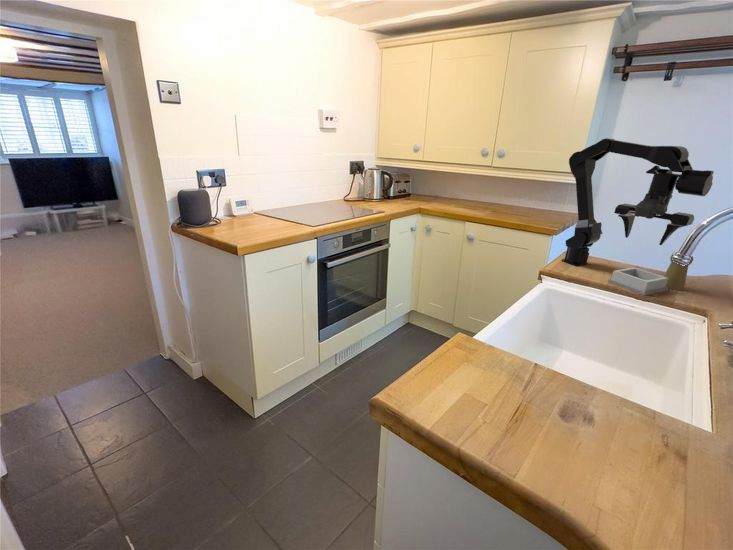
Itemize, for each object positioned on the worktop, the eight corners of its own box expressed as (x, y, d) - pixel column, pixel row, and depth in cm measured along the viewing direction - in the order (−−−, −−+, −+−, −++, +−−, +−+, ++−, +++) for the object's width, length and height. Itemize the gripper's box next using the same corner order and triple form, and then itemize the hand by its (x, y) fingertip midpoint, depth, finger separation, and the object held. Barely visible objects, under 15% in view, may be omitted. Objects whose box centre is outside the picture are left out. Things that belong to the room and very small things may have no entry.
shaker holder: (607, 282, 113) (611, 270, 112) (630, 277, 117) (633, 266, 116) (644, 295, 104) (648, 282, 102) (666, 290, 108) (671, 278, 106)
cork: (689, 290, 108) (702, 256, 104) (669, 290, 108) (681, 256, 104) (673, 283, 114) (685, 250, 110) (654, 282, 114) (665, 250, 110)
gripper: (614, 187, 108) (599, 236, 114) (691, 197, 94) (669, 253, 100) (629, 185, 114) (614, 232, 120) (704, 195, 100) (683, 247, 106)
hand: (643, 241), depth 111 cm, fingers open, 9 cm apart
